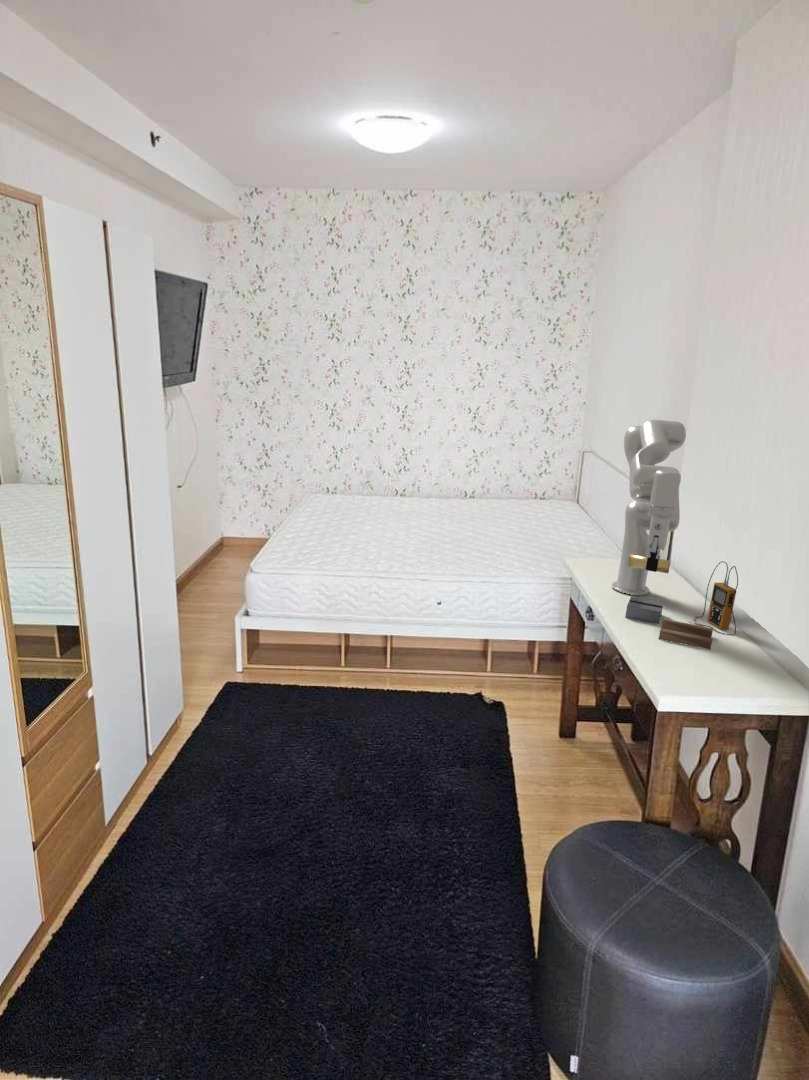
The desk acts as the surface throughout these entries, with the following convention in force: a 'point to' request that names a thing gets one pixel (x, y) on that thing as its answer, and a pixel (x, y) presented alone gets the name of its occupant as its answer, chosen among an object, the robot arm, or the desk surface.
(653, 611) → the v block
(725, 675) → the desk surface
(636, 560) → the axle
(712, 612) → the multimeter
